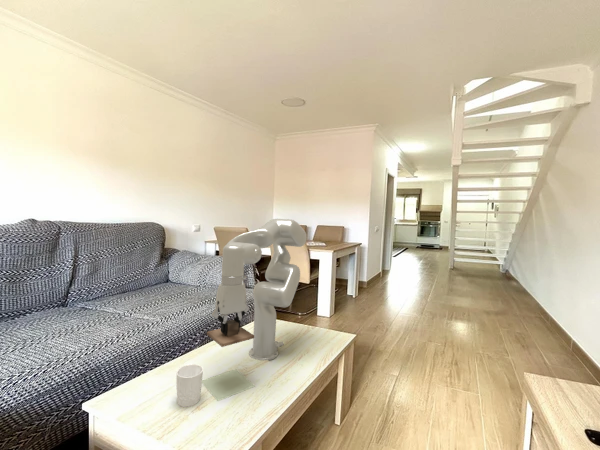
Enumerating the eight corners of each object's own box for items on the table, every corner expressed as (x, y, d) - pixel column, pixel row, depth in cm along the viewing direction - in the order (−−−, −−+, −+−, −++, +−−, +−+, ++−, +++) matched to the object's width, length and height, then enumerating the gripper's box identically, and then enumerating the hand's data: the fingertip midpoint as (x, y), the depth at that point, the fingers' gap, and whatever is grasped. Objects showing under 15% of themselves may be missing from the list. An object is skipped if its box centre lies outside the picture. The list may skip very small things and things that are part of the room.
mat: (236, 370, 111) (236, 369, 111) (255, 387, 101) (255, 386, 100) (200, 382, 102) (200, 380, 102) (217, 402, 91) (217, 401, 91)
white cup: (192, 412, 87) (194, 379, 86) (169, 407, 88) (171, 375, 88) (206, 396, 94) (207, 366, 94) (184, 392, 96) (186, 362, 96)
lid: (237, 327, 109) (237, 314, 109) (254, 338, 100) (254, 324, 100) (206, 334, 102) (207, 320, 102) (222, 347, 93) (222, 331, 92)
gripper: (247, 275, 109) (245, 323, 109) (205, 280, 98) (202, 333, 98) (258, 279, 103) (256, 330, 104) (214, 285, 92) (212, 341, 93)
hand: (230, 331), depth 101 cm, fingers closed on lid, 4 cm apart
